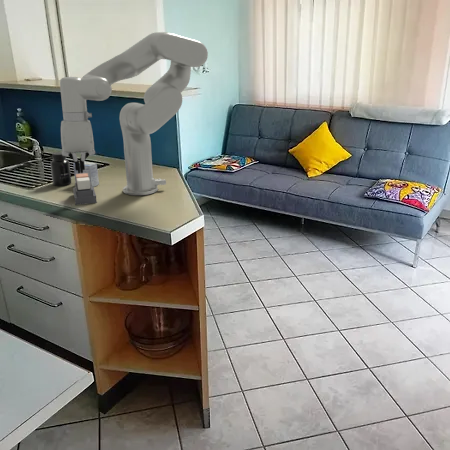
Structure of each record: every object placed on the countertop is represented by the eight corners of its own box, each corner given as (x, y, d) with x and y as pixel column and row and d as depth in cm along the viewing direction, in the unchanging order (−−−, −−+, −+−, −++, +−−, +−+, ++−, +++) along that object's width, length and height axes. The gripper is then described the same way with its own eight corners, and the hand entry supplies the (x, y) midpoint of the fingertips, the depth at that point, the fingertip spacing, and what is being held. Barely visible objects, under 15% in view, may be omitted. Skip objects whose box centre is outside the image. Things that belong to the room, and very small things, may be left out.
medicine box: (99, 185, 181) (97, 162, 178) (92, 188, 178) (89, 165, 175) (83, 182, 184) (80, 161, 181) (75, 185, 181) (72, 163, 178)
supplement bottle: (66, 187, 179) (62, 155, 175) (49, 185, 180) (45, 155, 176) (75, 182, 185) (71, 151, 181) (59, 181, 186) (55, 151, 182)
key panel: (93, 192, 172) (92, 180, 170) (96, 202, 161) (95, 190, 160) (73, 194, 170) (72, 182, 168) (75, 204, 159) (73, 192, 158)
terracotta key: (88, 181, 169) (87, 173, 168) (89, 184, 165) (88, 176, 164) (76, 182, 168) (75, 174, 166) (77, 185, 164) (76, 177, 163)
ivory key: (89, 185, 164) (88, 177, 163) (90, 188, 160) (89, 180, 159) (77, 186, 163) (76, 178, 162) (78, 189, 159) (77, 181, 158)
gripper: (98, 114, 158) (102, 168, 165) (50, 116, 154) (56, 171, 160) (100, 118, 152) (104, 173, 158) (50, 119, 147) (57, 176, 153)
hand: (80, 172), depth 159 cm, fingers closed
